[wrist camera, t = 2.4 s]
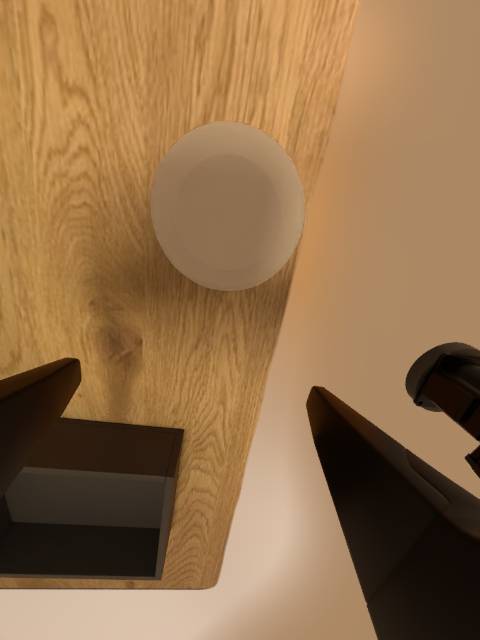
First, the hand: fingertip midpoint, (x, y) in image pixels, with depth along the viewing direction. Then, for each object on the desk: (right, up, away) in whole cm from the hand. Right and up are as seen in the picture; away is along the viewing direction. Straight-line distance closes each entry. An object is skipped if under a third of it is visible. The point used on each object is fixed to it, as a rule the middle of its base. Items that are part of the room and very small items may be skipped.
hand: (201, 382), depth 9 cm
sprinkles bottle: (+1, +11, +10) cm, 15 cm away
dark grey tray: (-17, -18, +21) cm, 32 cm away
